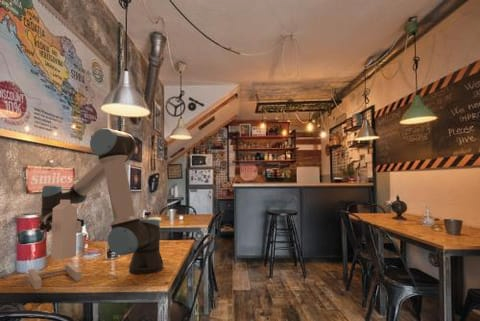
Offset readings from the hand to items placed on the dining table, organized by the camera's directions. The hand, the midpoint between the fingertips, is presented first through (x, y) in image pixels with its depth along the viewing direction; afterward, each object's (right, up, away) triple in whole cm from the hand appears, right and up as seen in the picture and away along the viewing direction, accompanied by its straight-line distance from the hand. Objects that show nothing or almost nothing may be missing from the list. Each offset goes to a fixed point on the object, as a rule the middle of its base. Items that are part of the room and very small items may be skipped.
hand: (67, 226), depth 110 cm
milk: (-3, -13, +3) cm, 13 cm away
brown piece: (-13, -25, +14) cm, 32 cm away
